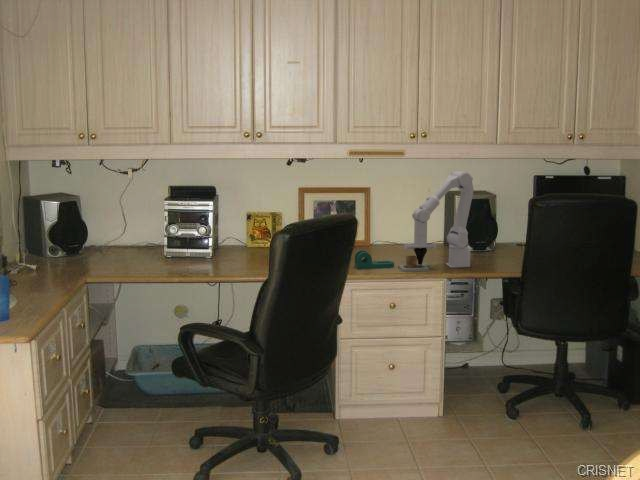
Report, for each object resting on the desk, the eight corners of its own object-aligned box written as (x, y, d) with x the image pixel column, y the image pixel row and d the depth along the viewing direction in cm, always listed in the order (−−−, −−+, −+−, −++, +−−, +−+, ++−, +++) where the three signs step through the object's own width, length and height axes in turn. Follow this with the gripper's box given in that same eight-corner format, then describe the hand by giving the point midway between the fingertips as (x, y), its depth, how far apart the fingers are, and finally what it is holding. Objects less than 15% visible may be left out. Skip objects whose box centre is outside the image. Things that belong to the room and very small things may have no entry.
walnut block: (414, 268, 320) (414, 255, 319) (416, 270, 316) (416, 257, 315) (406, 268, 320) (406, 255, 319) (408, 270, 316) (408, 257, 315)
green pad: (428, 263, 330) (428, 262, 330) (431, 266, 324) (431, 265, 324) (416, 263, 329) (416, 262, 329) (419, 266, 323) (419, 265, 323)
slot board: (423, 266, 323) (423, 264, 323) (428, 271, 314) (429, 268, 314) (398, 267, 322) (398, 264, 322) (402, 271, 313) (403, 269, 313)
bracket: (357, 269, 318) (357, 252, 317) (354, 266, 325) (354, 250, 324) (395, 268, 321) (395, 251, 320) (392, 265, 328) (392, 248, 326)
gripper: (433, 232, 320) (433, 261, 323) (402, 233, 319) (402, 262, 321) (438, 235, 313) (437, 265, 316) (406, 236, 312) (406, 266, 314)
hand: (419, 264), depth 318 cm, fingers closed
